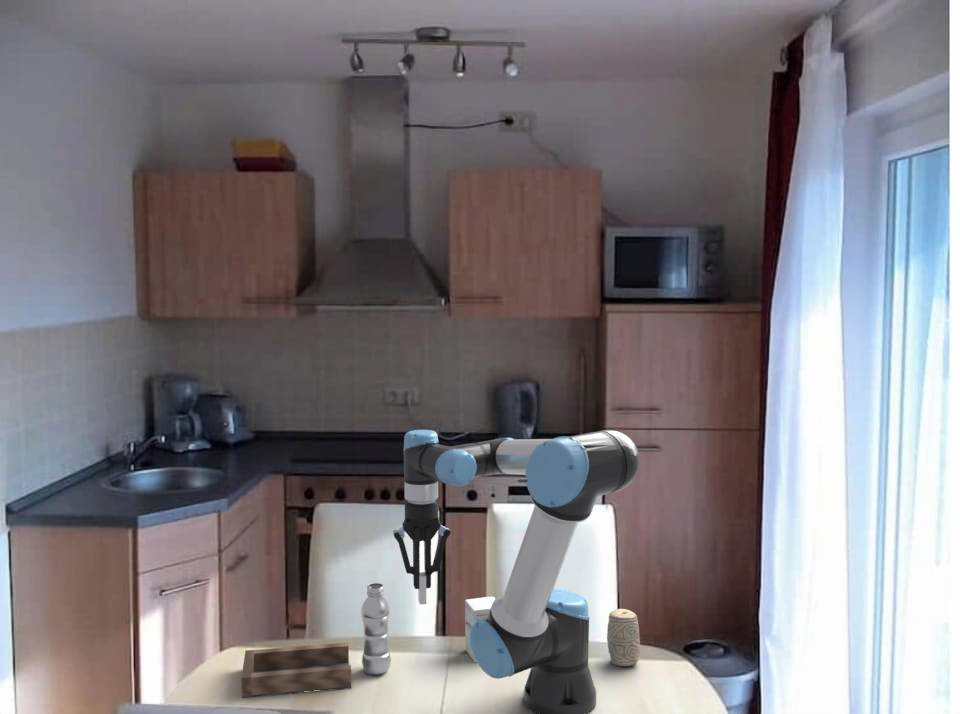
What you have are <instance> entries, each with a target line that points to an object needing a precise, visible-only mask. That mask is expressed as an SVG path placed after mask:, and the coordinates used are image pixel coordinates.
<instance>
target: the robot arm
mask: <svg viewBox="0 0 960 714" xmlns="http://www.w3.org/2000/svg"><path fill="white" fill-rule="evenodd" d="M403 438H404V439H403V444H404V445H403V449H402V451H403V473H404V474H403V475H404V476H403V477H404V499H405V501H404V521H403V522H402V526H401V527H400V528H399V529H394V530H393V532H392V534H393V537H394V539H395V540H396V541H397V543H398V546H399V550H400V554H401V558H402V562H403V565H404V568H405V572H406V573H407V574H408V575H410V574H411V575H412V577H413V579H412V580H413V587H414V590H417V591H418V594H417V597H418V598H417V599H418V603H419V605H427V589H431V587H432V574H434V573H437V572H439V570H440V567H441V562H442V559H443V555H444V550H445V545H446V542H447V540H448V538H449V536H450V535H451V530H450V528H449V527H448V526H443V525H442V523H441V521H440V519H439V501H438V499H439V482H442V483H444V484H445V485H449V486H454V487H455V486H456V487H463V486H466V485H468V484H469V483H470V482H471V481H473V479H476V478H481V477H485V476H486V477H487V476H492V475H493V476H494V475H523V476H525V477H526V478H527V479H528V480H527V481H526V483H525V484H526V487H527V490H528V492H529V494H530V500H531V502H532V503H533V505H534V507H533V510H532V513H531V516H530V519H529V522H528V523H527V527H526V530H525V533H524V535H523V538H522V542H521V545H520V548H519V550H518V553H517V555H516V558H515V562H514V564H513V567H512V569H511V570H512V571H511V573H510V576H509V579H508V581H507V584H506V588H505V590H504V593H503V594H501V595H499V596H498V597H496V598H495V600H494V602H493V604H492V606H491V609H490V612H489V615H488V617H487V618H486V619H484V620H483V619H481V620H479V621H478V622H476V623H474V624H473V626H472V628H471V631H470V643H471V648H472V651H473V654H474V657H475V659H476V661H477V662H476V663H477V665H478V666H479V667H480V669H481V670H482V671H483V672H484V674H486V675H487V676H489V677H490V678H493V679H498V680H499V679H503V678H507V677H513V676H514V675H517V674H519V673H522V672H524V671H527V670H529V669H530V670H529V672H528V677H527V678H526V681H525V685H524V689H523V703H524V704H525V706H526V707H527V708H528V709H530V711H533V712H535V713H536V714H538V713H540V714H588V713H589V711H590V712H591V711H593V710H594V709H595V707H596V705H597V691H596V687H595V684H594V680H593V676H592V674H591V671H590V667H589V641H590V640H589V639H590V638H589V637H590V636H589V634H590V630H589V629H590V616H589V604H588V601H587V599H586V598H584V597H583V596H582V595H580V594H577V593H576V592H571V591H569V590H568V591H567V590H565V589H563V590H562V589H556V588H555V585H556V583H557V581H558V578H559V575H560V572H561V569H562V568H563V564H564V561H565V560H566V556H567V555H568V551H569V549H570V546H571V543H572V541H573V538H574V535H575V533H576V531H577V528H578V525H579V523H581V522H584V521H586V520H587V519H589V517H590V516H591V514H592V512H593V509H594V506H595V504H596V501H597V499H599V497H601V496H604V495H610V494H613V493H617V492H619V491H622V490H624V489H625V488H627V487H629V485H631V483H632V482H633V481H634V480H635V478H636V477H637V475H638V472H639V469H640V465H641V464H640V463H641V462H640V461H641V459H640V458H641V457H640V454H639V450H638V448H637V445H636V443H634V441H633V440H632V438H630V437H629V436H627V435H626V434H624V433H623V432H620V431H617V430H610V429H605V430H597V431H592V432H586V433H583V434H576V435H570V436H566V435H562V436H557V437H554V438H538V439H537V438H534V439H533V438H532V439H531V438H529V439H528V438H527V439H525V438H524V439H515V438H512V437H498V438H497V437H496V438H495V439H490V440H484V441H478V442H472V443H465V444H460V445H454V446H447V445H442V444H440V443H439V437H438V433H437V432H436V431H435V430H430V429H415V430H414V429H413V430H410V431H408V432H406V433H405V434H404V437H403ZM405 533H406V534H407V536H408V537H409V538H410V539H411V540H412V566H411V564H410V560H409V555H408V551H407V547H406V543H405V540H404V538H405V536H406V535H405ZM437 533H438V535H439V537H438V540H437V545H436V549H435V553H434V558H433V561H432V539H433V538H434V537H435V536H436V534H437ZM422 541H423V545H424V546H423V549H424V552H423V555H424V561H423V562H424V563H423V564H424V571H420V568H421V567H420V556H421V555H420V544H421V542H422ZM554 588H555V589H554Z"/></svg>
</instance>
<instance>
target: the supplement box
mask: <svg viewBox="0 0 960 714" xmlns="http://www.w3.org/2000/svg"><path fill="white" fill-rule="evenodd" d="M495 599H496V598H495V597H494V596H483V597H477V598H469V599H465V600H464V603H465V604H464V605H465V607H464V610H465V615H464V616H465V618H464V619H465V621H464V623H465V625H464V626H465V628H464V629H465V631H464V632H465V635H464V636H465V641H464V643H465V651H466V652H467V653H468V654H469V656H470V657H471V659H472V661H473V662H474V663H477V661H476V659H475V657H474V654H473V651H472V648H471V643H470V631H471V628H472V626H473V624H474V623H476V622H478V621H479V620H481V619H483V620H484V619H486V618H487V617H488V615H489V612H490V609H491V606H492V604H493V602H494V600H495Z"/></svg>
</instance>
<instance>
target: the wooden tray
mask: <svg viewBox="0 0 960 714" xmlns="http://www.w3.org/2000/svg"><path fill="white" fill-rule="evenodd" d="M349 649H350V648H349V642H338V643H337V642H335V643H326V644H325V643H324V644H314V645H313V644H312V645H300V646H299V645H298V646H288V647H286V646H285V647H273V648H272V647H271V648H263V649H251V650H249V649H246V650H245V652H244V658H243V666H242V672H241V678H240V679H241V698H242V699H246V698H255V697H256V698H257V696H258V697H268V695H269V696H278V695H289V693H292V694H299V693H298V692H303V693H305V692H304V691H314V690H326V691H330V690H329V689H337V690H345V689H344V688H349V689H352V666H351V664H350V662H349V661H350V659H349V658H350V656H349Z"/></svg>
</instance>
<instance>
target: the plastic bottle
mask: <svg viewBox="0 0 960 714" xmlns="http://www.w3.org/2000/svg"><path fill="white" fill-rule="evenodd" d="M384 594H385V590H384V584H382V583H381V582H374V583H373V582H372V583H370V584H368V585H367V586H366V595H367V597H366V599H365V600H364V602H363V603H362V607H361V610H360V611H361V612H360V613H361V616H362V617H361V618H362V625H363V632H364V633H363V636H364V637H363V638H364V640H363V641H364V642H363V653H362V656H361V657H362V658H361V664H362V669H363V670H364V671H365V672H366V673H367V674H369V675H374V676H375V675H382V674H385V673H386V672H388V671H389V669H390V667H391V663H392V662H391V661H392V657H391V652H390V647H389V637H388V636H389V633H388V631H389V621H390V620H389V619H390V613H391V612H390V611H391V610H390V609H391V608H390V605H389V602H388V600H387V599H386V598H385V597H384Z"/></svg>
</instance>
